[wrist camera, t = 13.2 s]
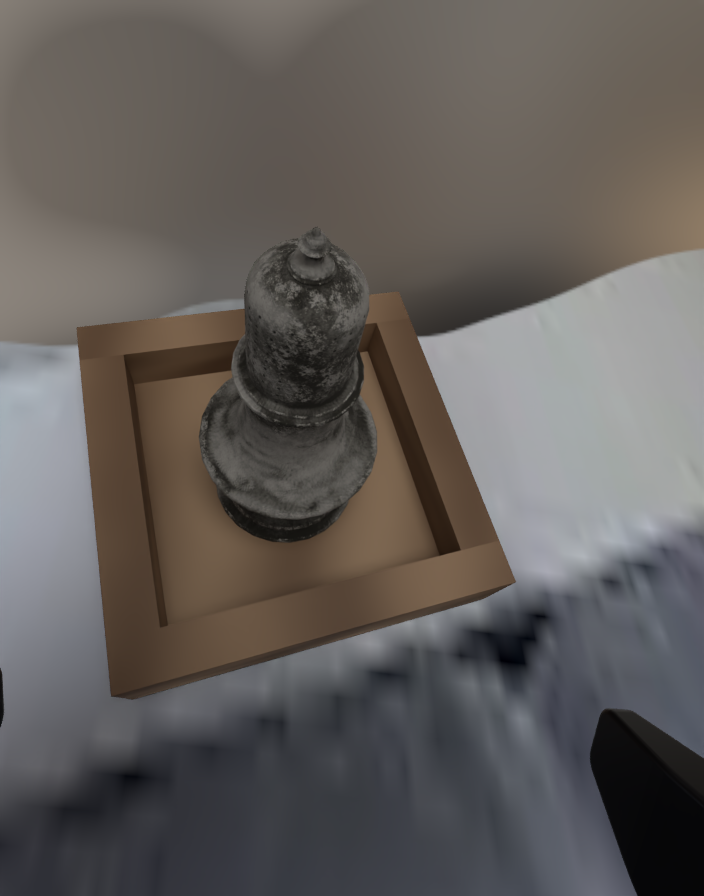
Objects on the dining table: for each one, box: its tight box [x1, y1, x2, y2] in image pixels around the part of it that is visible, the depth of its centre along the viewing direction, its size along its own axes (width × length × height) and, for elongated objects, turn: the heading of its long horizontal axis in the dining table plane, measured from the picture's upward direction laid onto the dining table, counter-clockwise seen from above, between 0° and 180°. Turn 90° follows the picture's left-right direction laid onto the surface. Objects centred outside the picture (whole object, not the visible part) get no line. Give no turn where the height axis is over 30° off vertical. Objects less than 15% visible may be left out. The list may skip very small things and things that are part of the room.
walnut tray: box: [77, 292, 516, 699], centre depth 21 cm, size 13×13×3 cm
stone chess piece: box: [199, 227, 377, 543], centre depth 16 cm, size 6×6×12 cm
